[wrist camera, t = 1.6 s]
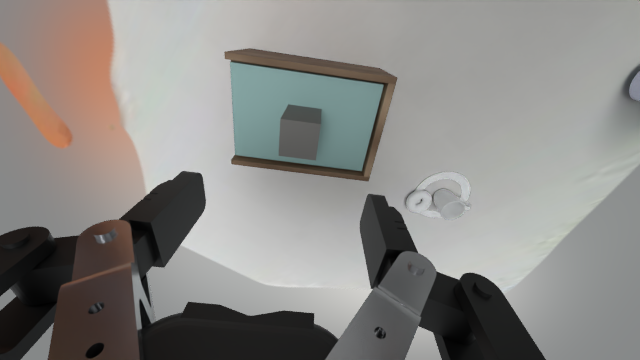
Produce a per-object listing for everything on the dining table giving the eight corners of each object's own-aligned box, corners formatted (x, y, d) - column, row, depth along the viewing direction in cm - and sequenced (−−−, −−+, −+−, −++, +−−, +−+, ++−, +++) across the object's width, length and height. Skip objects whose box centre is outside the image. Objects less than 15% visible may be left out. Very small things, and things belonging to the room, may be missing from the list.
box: (249, 48, 25) (224, 51, 19) (379, 68, 26) (397, 77, 19) (251, 137, 30) (231, 164, 24) (359, 151, 31) (368, 181, 24)
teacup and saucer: (397, 206, 36) (404, 224, 32) (425, 161, 32) (437, 176, 28) (447, 220, 37) (460, 239, 34) (480, 179, 33) (499, 196, 30)
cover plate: (233, 61, 20) (206, 67, 16) (381, 83, 21) (397, 95, 16) (237, 151, 25) (217, 177, 20) (360, 167, 25) (368, 195, 21)
